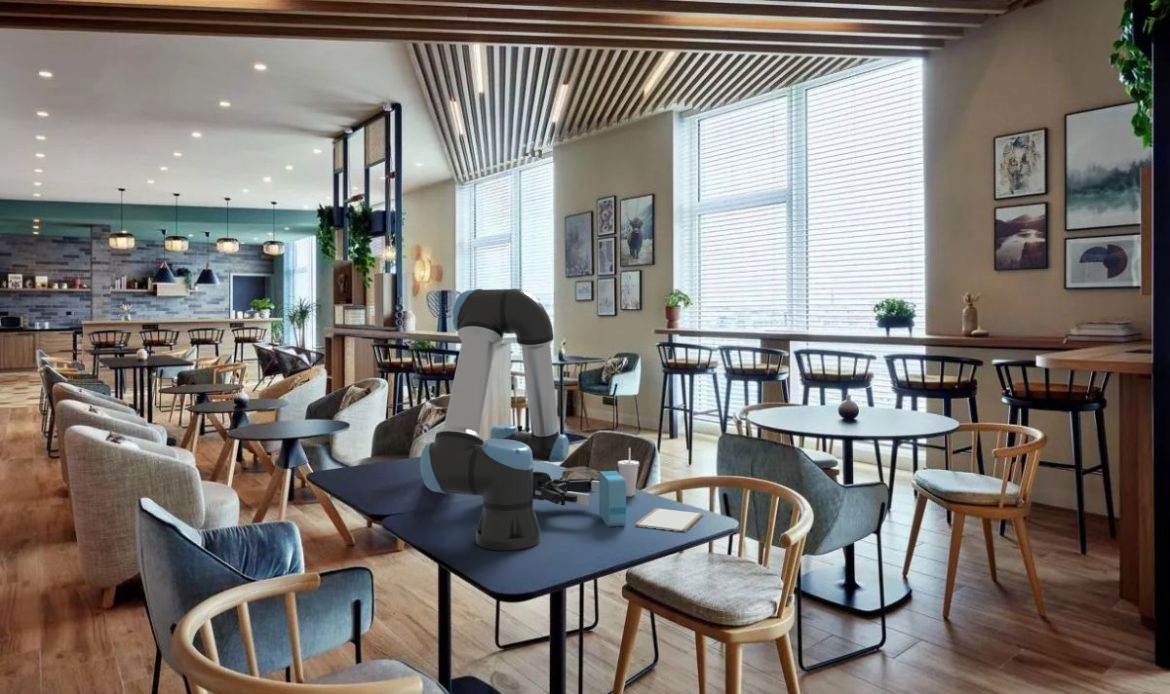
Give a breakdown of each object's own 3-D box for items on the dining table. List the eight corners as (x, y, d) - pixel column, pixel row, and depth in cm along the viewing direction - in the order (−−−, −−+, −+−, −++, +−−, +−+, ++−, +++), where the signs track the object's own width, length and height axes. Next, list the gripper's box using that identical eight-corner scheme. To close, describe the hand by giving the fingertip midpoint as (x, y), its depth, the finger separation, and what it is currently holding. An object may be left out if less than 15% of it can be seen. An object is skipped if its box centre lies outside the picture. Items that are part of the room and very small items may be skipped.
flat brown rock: (554, 479, 235) (572, 492, 216) (554, 464, 235) (572, 476, 216) (595, 477, 239) (616, 489, 220) (595, 462, 239) (616, 473, 220)
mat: (685, 532, 176) (685, 529, 176) (635, 526, 181) (635, 523, 181) (703, 515, 190) (703, 513, 190) (656, 510, 195) (656, 507, 195)
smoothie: (627, 498, 208) (626, 450, 208) (613, 494, 213) (613, 447, 213) (643, 495, 212) (643, 448, 211) (629, 491, 217) (629, 444, 217)
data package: (626, 527, 180) (626, 479, 180) (608, 528, 179) (608, 480, 179) (615, 514, 192) (615, 469, 191) (599, 515, 191) (599, 470, 191)
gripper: (556, 488, 209) (622, 497, 199) (507, 509, 187) (578, 520, 177) (556, 463, 209) (622, 470, 199) (506, 480, 187) (578, 489, 177)
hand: (601, 494), depth 188 cm, fingers open, 13 cm apart
